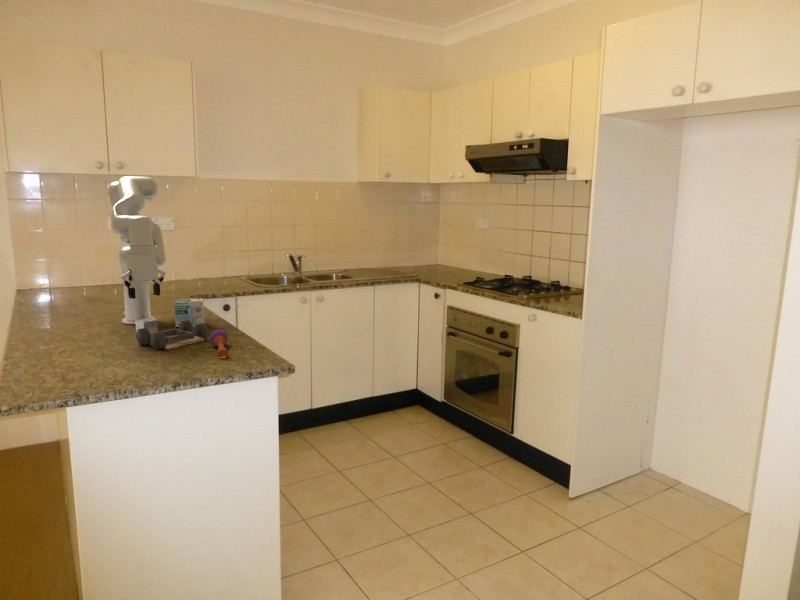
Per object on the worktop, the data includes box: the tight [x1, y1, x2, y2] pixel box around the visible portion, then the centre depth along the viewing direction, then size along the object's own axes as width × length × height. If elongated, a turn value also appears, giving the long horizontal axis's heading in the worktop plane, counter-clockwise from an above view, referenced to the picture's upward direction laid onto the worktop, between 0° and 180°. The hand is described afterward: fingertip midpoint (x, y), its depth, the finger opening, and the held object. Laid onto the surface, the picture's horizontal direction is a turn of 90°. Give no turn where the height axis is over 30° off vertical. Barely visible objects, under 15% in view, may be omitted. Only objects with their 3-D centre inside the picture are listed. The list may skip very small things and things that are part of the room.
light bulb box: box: [174, 298, 205, 328], centre depth 232 cm, size 11×7×11 cm, turn 105°
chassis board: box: [135, 320, 209, 350], centre depth 206 cm, size 16×19×6 cm
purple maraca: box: [209, 329, 229, 358], centre depth 195 cm, size 6×6×20 cm
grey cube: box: [134, 318, 159, 334], centre depth 215 cm, size 6×6×6 cm
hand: (144, 296), depth 213 cm, fingers open, 9 cm apart
